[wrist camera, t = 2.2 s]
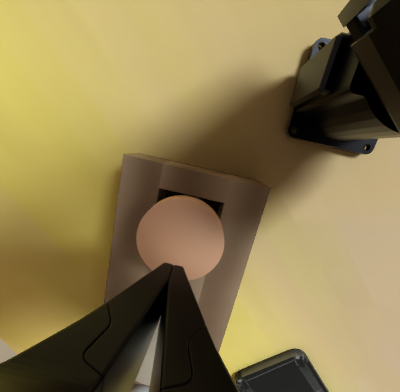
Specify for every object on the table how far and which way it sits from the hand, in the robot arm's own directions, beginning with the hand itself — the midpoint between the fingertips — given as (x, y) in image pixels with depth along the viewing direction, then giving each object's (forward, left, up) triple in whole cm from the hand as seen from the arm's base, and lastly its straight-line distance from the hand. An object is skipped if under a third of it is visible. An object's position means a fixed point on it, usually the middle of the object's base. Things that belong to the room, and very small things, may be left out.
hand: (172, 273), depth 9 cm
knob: (0, 0, -7) cm, 7 cm away
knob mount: (0, +9, -9) cm, 13 cm away
